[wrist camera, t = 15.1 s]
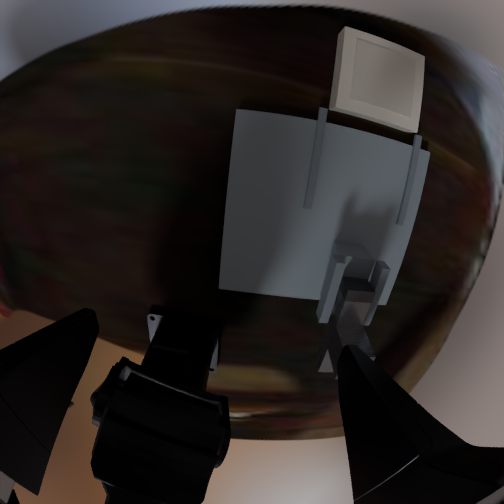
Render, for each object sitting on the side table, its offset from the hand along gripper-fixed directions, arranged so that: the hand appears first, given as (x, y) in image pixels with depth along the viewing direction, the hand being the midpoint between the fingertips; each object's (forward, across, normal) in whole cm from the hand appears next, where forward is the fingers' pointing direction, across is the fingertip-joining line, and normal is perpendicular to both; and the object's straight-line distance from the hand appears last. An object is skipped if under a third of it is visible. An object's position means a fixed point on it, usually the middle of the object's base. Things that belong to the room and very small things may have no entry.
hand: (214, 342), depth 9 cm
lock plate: (+12, -6, -2) cm, 14 cm away
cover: (+12, -8, -12) cm, 19 cm away
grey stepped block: (+9, -8, +5) cm, 13 cm away
